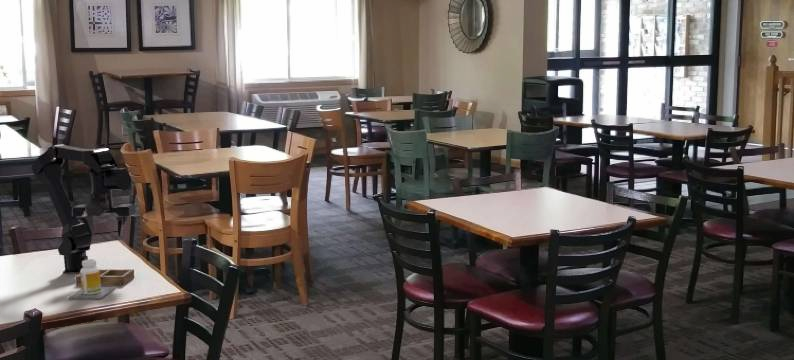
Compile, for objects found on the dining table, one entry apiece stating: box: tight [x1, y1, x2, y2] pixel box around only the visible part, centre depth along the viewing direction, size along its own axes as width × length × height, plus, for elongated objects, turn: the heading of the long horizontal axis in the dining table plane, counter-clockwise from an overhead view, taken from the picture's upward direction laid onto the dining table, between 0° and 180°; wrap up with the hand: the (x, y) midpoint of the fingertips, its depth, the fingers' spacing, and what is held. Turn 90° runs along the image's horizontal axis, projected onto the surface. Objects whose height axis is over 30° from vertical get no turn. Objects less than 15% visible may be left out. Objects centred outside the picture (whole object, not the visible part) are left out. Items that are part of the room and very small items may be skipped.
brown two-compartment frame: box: [75, 268, 135, 286], centre depth 270 cm, size 15×8×3 cm, turn 84°
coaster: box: [67, 286, 116, 301], centre depth 258 cm, size 10×10×1 cm
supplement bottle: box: [79, 258, 102, 295], centre depth 257 cm, size 5×5×10 cm
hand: (106, 236), depth 274 cm, fingers open, 9 cm apart
